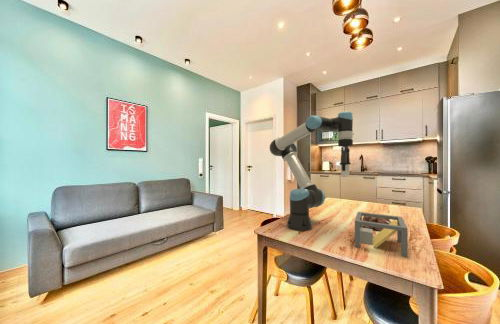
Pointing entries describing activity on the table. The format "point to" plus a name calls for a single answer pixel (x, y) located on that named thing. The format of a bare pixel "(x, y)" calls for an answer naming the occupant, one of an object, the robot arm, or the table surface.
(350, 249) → the table surface
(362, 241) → the grey cube
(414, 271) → the table surface
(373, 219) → the rock
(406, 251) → the frame
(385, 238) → the hatch
